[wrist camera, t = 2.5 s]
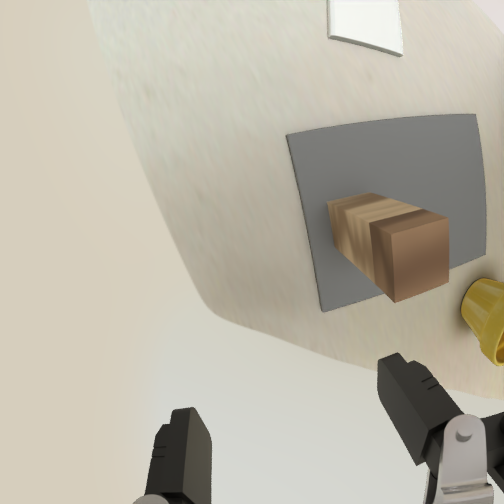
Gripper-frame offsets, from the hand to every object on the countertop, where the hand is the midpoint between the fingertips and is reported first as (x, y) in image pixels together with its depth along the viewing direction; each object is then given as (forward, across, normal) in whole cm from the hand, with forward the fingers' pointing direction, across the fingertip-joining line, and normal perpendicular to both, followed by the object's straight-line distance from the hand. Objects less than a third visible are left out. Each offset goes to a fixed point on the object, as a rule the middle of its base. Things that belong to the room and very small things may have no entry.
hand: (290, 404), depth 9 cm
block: (+19, -10, 0) cm, 22 cm away
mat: (+20, -18, 0) cm, 26 cm away
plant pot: (+20, -29, +16) cm, 39 cm away
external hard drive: (+21, -18, -23) cm, 36 cm away
